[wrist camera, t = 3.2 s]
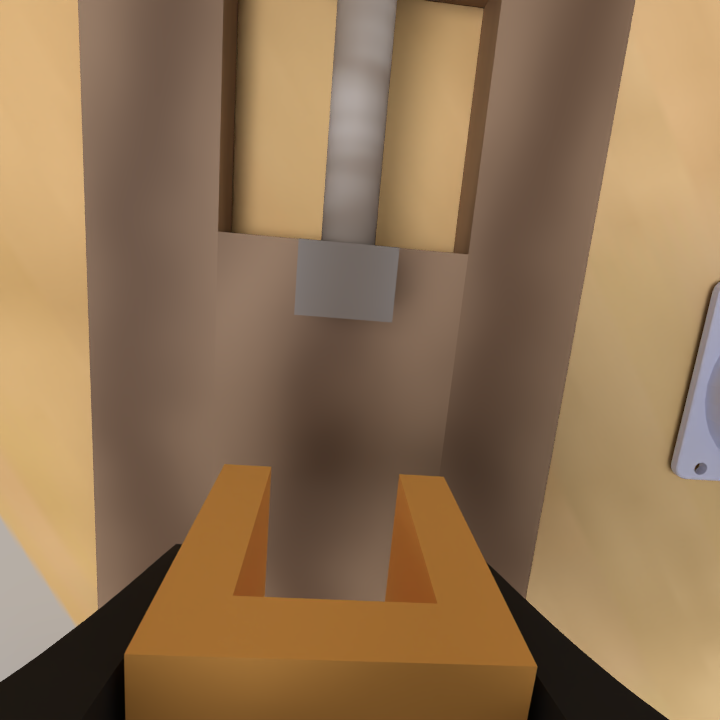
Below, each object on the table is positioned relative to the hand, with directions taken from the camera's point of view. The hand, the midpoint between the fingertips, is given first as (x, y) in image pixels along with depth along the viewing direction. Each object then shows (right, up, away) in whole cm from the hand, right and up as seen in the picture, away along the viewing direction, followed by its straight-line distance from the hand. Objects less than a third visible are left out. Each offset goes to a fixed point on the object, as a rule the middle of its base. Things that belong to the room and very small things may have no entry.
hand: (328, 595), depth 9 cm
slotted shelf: (0, +7, +8) cm, 11 cm away
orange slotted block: (0, 0, +1) cm, 1 cm away
